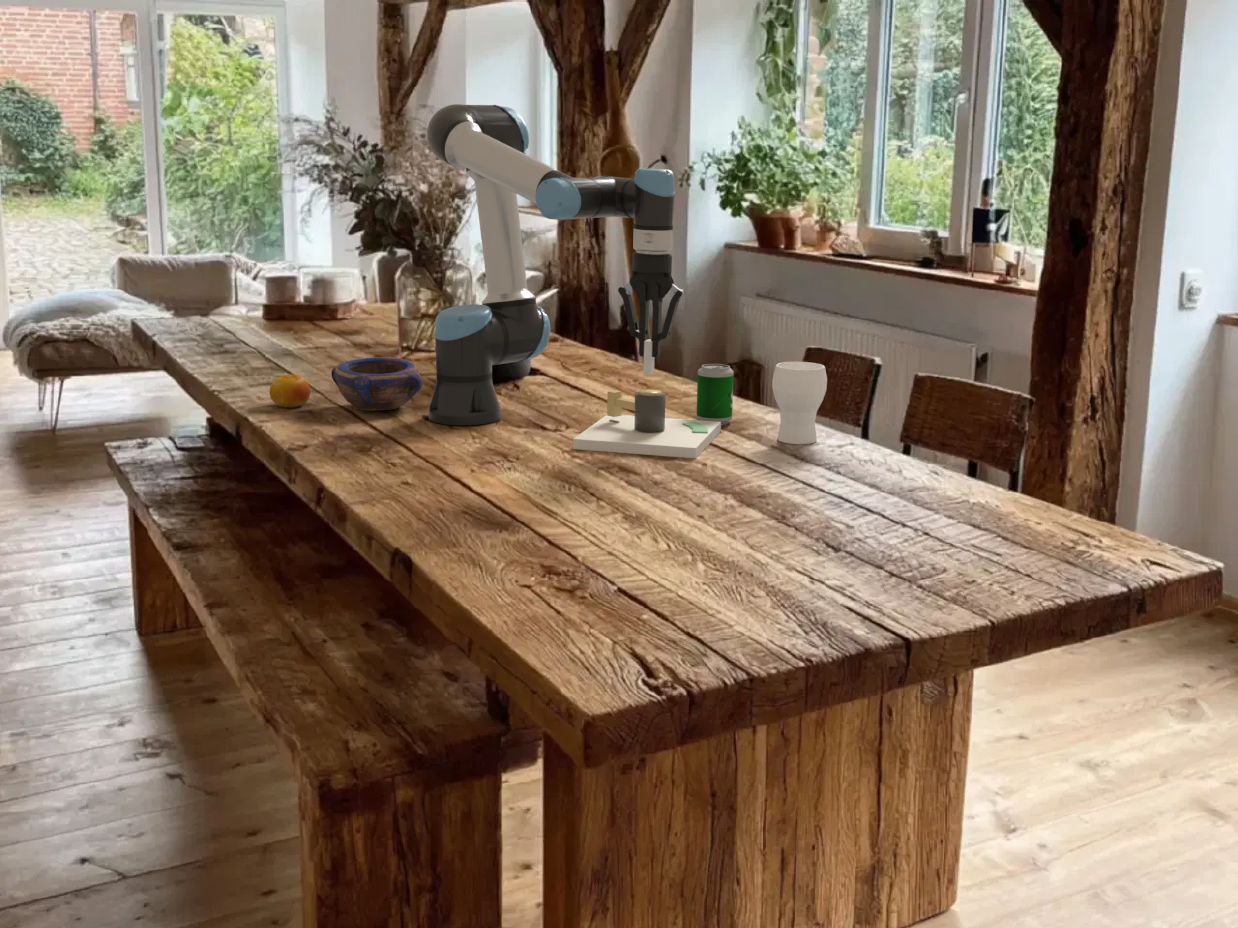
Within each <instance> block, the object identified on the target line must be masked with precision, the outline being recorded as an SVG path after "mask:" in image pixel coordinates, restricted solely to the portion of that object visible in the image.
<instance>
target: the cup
mask: <svg viewBox="0 0 1238 928" xmlns="http://www.w3.org/2000/svg"><path fill="white" fill-rule="evenodd" d="M771 382H772V383H771V384H772V385H771V386H772V388H771V389H772V392H773V396H774V399H775V400H774V401H775V402H776V405H777V406H778V409H779V418H780V424H779V427H778V428H779V429H778V432H777V433H778V434H777V437H776V439H777V440H778V441H779V442H781V443H785V444H793V445H809V444H814V443H816V442H817V441H818V440H817V430H816V418H817V413H818V410H819V409H820V407H821V405H822V402H823V401H824V398H825V396H826V393H827V387H828V375H827V371H826V367H825V365H824V364H821V363H818V362H817V363H816V362H811V361H810V362H808V361H784V362H779V363H777V364H776V365H775V367H774V372H773V375H772V381H771Z"/></svg>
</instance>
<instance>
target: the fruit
mask: <svg viewBox="0 0 1238 928" xmlns="http://www.w3.org/2000/svg"><path fill="white" fill-rule="evenodd" d="M310 386H311V385H310V384H309V382H308V381H307V380H306V378H305V377H303V376H301V375H299V374H285V375H281V376H278V377H277V378H275V379H273V381H272V383H271V385H270V387H269V396H270V399H271V400H272V402H273V403H274V404H276V405H277V406H279V407H281V408H287V407H289V408H298V406H299V407H303V406H304V405H305V404H306V403H307V402H308V400H309V399H310V395H311V387H310Z"/></svg>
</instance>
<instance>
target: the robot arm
mask: <svg viewBox="0 0 1238 928" xmlns="http://www.w3.org/2000/svg"><path fill="white" fill-rule="evenodd" d="M426 139H427V140H426V141H427V142H428V143H427V144H428V147H429V148H430V150H431V152H432V153H433V155H434V156H435V157H437V158H438V159H439V160H440V161H442V162H444V163H446V164H447V165H450V166H451V167H453V168H455V169H460V170H462V169H465V173H466V175H467V176H468V177H470V178H471V180H473V181H474V186H475V187H474V188H475V196H476V205H477V213H478V219H479V221H478V222H479V228H480V229H479V230H480V238H481V239H480V240H481V248H482V254H483V255H482V256H483V264H484V271H485V273H484V274H485V280H486V281H485V283H486V289H487V294H486V296H485V297H484V298H483V300H482V301H481V304H480V303H479V304H477V303H476V304H466V305H463V304H462V305H457V306H451V307H448V308H445V309H443V310H442V311H441V310H440V312H439V313H437V315H436V318H435V322H434V323H435V327H434V335H433V336H434V341H435V370H436V372H435V374H436V375H435V376H436V379H435V380H436V383H435V386H434V390H433V393H432V396H431V400H430V403H429V407H428V420H429V421H431V422H433V423H436V424H439V425H448V426H478V425H485V424H492V423H494V422H498V421H499V420H501V419H502V408H501V405H500V402H499V398H498V396H497V393H496V389H495V386H494V384H493V366H497V365H503V364H510V363H516V362H517V363H520V362H525V361H527V360H531V359H535V358H537V357H538V356H540V355H541V354H542V353H543V352H544V350H545V349H546V348H547V346H548V344H549V341H550V336H551V322H550V318H549V316H548V314H547V313H546V311H545V310H544V309H543V308H542V307H541V306H538V305H537V298H536V295H534V293H532V292H531V291H529V289H528V282H527V273H526V265H525V264H526V263H525V257H524V256H525V255H524V250H523V249H524V247H523V239H522V237H523V236H522V231H521V230H522V229H521V222H520V220H521V219H520V212H519V211H520V210H519V204H518V202H519V201H518V196H520V197H522V198H524V199H526V200H528V201H530V202H532V203H534V204H535V205H536V208H537V210H539V211H540V215H542V216H543V217H544V218H545V219H548V220H557V221H568V220H579V219H592V218H593V219H596V218H626V219H627V218H629V219H633V236H632V237H633V238H632V239H633V241H632V243H633V245H632V246H633V247H632V248H633V250H635V252H633V253H632V273H631V277H630V278H629V282H628V283H626V284H624V285H622V286H620V287H618V288H617V292H618V293H619V295H620V296H621V299H622V302H623V306H624V311H625V316H626V320H627V325H628V331H629V335H630V336H631V337H632V338H637V340H638V341H639V342H638V355H639V357H641V358H642V357H643V368H642V369H643V370H642V371H643V373H642V374H643V375H646V376H647V375H649V376H651V375H653V374H654V373H655V359H656V358H658V357H659V356H660V352H661V341H662V340H664V339H667V338H668V337H670V335H671V332H672V329H673V324H674V321H675V317H676V313H677V310H678V307H679V303H680V300H681V299H682V298H683V296H684V295H685V293H686V292H685V289H683V288H679V287H678V286H676V285H675V283H674V282H675V281H674V279H673V276H672V274H673V273H672V270H673V267H672V266H673V255H672V253H670V252H671V251H672V250H673V240H674V239H673V238H674V224H673V223H674V209H675V208H674V207H675V196H676V189H675V174H674V172H673V171H672V170H670V169H666V168H637V170H636V171H635V173H634V178H629V177H619V176H611V175H601V176H595V177H573V176H571V175H568V174H566V173H564V172H562V171H560V170H558V169H556V168H554V167H552V166H550V165H548V164H546V163H544V162H542V161H540V160H538V159H536V158H534V157H532V156H530V155H528V154H527V149H529V146H530V145H529V144H530V135H529V130H528V126H527V124H526V122H525V120H524V119H523V117H522V116H521V115H520V114H519V113H518V112H517V111H516V110H514V108H511V107H509V106H500V105H497V104H490V105H489V104H488V105H487V104H460V103H459V104H458V103H457V104H450V105H446V106H444V107H442V108H440V109H439V110H437V111H436V112H435V113H434V114H433V116H432V117H431V119H430V120H429V122H428V125H427V129H426ZM633 291H634V293H635V294H636V295H637V298H638V299H639V300H638V302H639V319H637V314H636V310H635V309H636V308H635V306H634V299H633V296H632V294H633ZM669 292H670V297H671V299H670V301H669V305H668V308H667V312H666V316H665V319H664V323H663V325H662V311H663V310H662V308H663V301H664V300H663V299H664V298H665V297H666V296H667V295H668V293H669ZM650 301H651V302H652V315H651V316H652V322H651V323H652V324H651V325H652V326H651V327H652V328H651V337H650V338H649V314H650V313H649V311H650ZM638 320H639V323H638ZM662 326H663V327H662ZM648 338H649V339H648Z"/></svg>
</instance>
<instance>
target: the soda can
mask: <svg viewBox="0 0 1238 928" xmlns="http://www.w3.org/2000/svg"><path fill="white" fill-rule="evenodd" d="M734 375H735V374H734V370H733V369H732V368H731V366H730V365H727V364H723V363H722V364H721V363H708V364H707V363H706V364H702V365H701V367H700V368H699V369H698V370H697V382H696V383H697V384H696V385H697V386H696V390H697V391H696V420H702V421H716V422H721V426H724V425H725V426H726V425H728V423H729V422H730V421H731V420H732V419H733V406H734V405H733V402H734V401H733V400H734V398H733V397H734Z"/></svg>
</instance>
